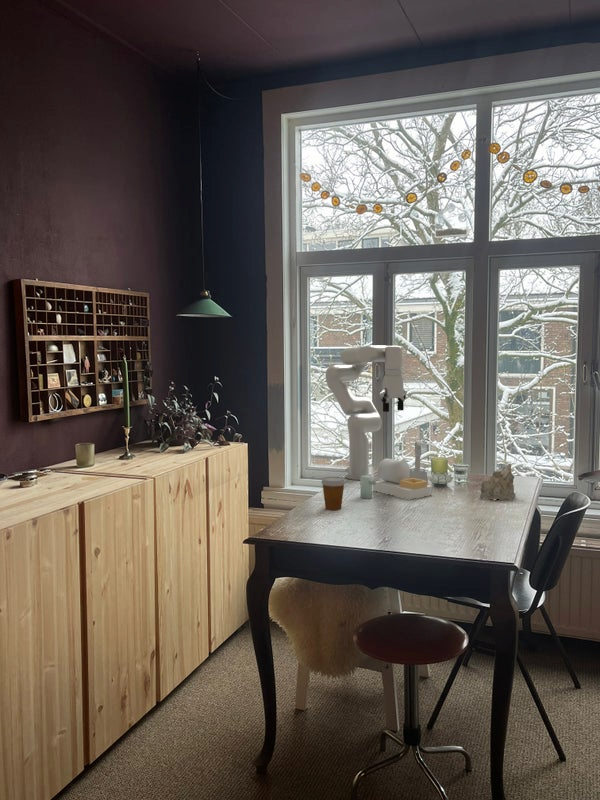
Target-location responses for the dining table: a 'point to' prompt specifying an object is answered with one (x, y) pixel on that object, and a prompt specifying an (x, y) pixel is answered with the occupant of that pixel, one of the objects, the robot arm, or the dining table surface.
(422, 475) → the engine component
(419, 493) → the motor plinth
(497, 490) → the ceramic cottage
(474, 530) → the dining table surface
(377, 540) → the dining table surface
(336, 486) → the disposable coffee cup
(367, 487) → the drain pump
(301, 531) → the dining table surface
